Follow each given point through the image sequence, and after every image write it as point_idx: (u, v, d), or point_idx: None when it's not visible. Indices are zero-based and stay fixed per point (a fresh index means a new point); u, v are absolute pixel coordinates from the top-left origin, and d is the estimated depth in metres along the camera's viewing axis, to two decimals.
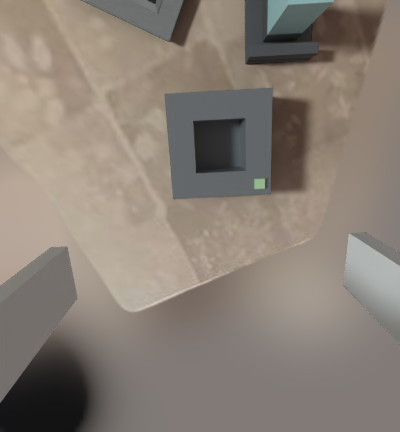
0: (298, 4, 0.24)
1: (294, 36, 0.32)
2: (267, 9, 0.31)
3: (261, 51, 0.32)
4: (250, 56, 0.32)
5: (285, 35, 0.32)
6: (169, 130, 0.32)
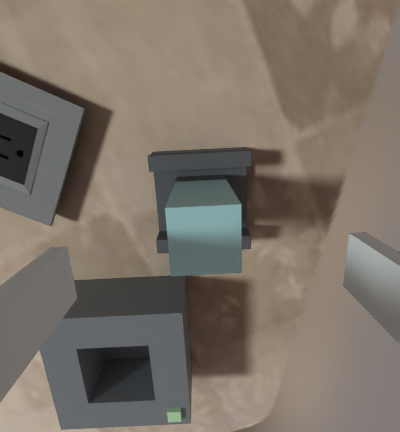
0: (187, 274, 0.16)
1: None
2: None
3: None
4: (159, 252, 0.24)
5: None
6: (44, 359, 0.23)
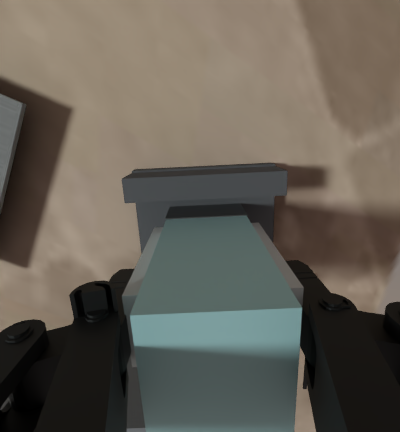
0: None
1: None
2: None
3: None
4: None
5: None
6: None
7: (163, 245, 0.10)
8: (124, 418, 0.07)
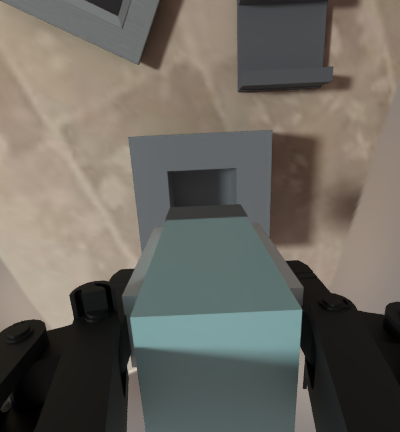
0: None
1: None
2: None
3: (258, 79, 0.25)
4: (243, 85, 0.25)
5: None
6: (136, 183, 0.24)
7: (163, 246, 0.10)
8: (124, 418, 0.07)
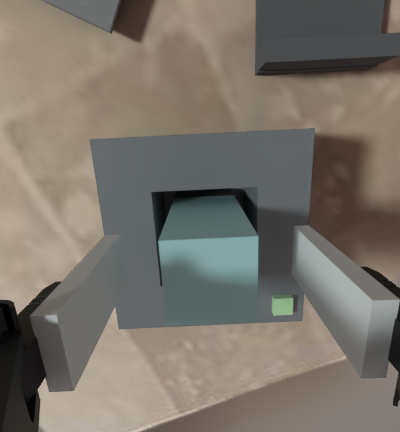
0: (187, 322, 0.12)
1: None
2: None
3: (289, 51, 0.16)
4: (267, 61, 0.16)
5: None
6: (104, 209, 0.16)
7: (174, 212, 0.15)
8: None
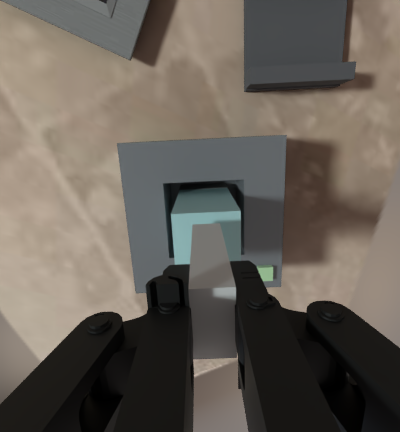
0: None
1: None
2: None
3: (268, 76, 0.21)
4: (251, 83, 0.21)
5: None
6: (126, 197, 0.21)
7: (180, 198, 0.20)
8: (192, 413, 0.07)
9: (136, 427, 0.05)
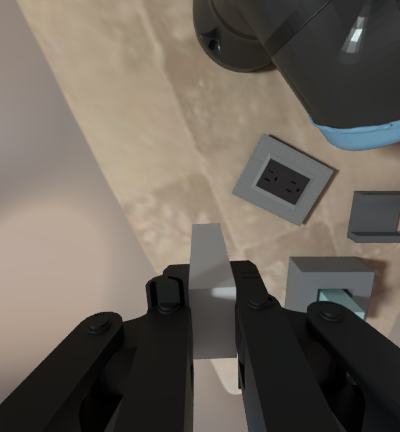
0: None
1: None
2: None
3: (365, 240, 0.46)
4: (356, 242, 0.47)
5: None
6: (300, 293, 0.46)
7: (326, 296, 0.45)
8: (192, 413, 0.07)
9: (136, 427, 0.05)
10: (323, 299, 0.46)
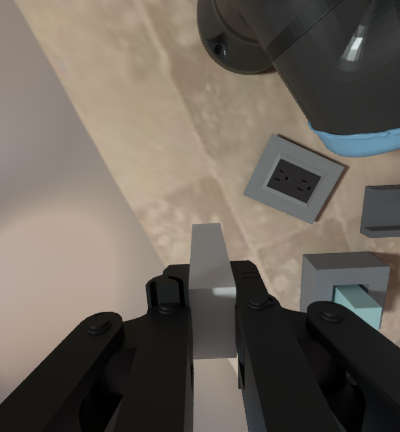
0: None
1: None
2: None
3: (378, 234, 0.46)
4: (370, 237, 0.47)
5: None
6: (316, 290, 0.46)
7: (342, 293, 0.45)
8: (192, 413, 0.07)
9: (136, 427, 0.05)
10: (339, 295, 0.46)
